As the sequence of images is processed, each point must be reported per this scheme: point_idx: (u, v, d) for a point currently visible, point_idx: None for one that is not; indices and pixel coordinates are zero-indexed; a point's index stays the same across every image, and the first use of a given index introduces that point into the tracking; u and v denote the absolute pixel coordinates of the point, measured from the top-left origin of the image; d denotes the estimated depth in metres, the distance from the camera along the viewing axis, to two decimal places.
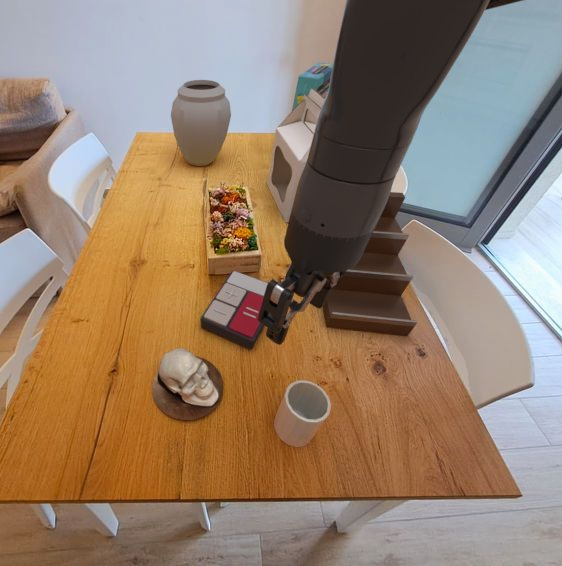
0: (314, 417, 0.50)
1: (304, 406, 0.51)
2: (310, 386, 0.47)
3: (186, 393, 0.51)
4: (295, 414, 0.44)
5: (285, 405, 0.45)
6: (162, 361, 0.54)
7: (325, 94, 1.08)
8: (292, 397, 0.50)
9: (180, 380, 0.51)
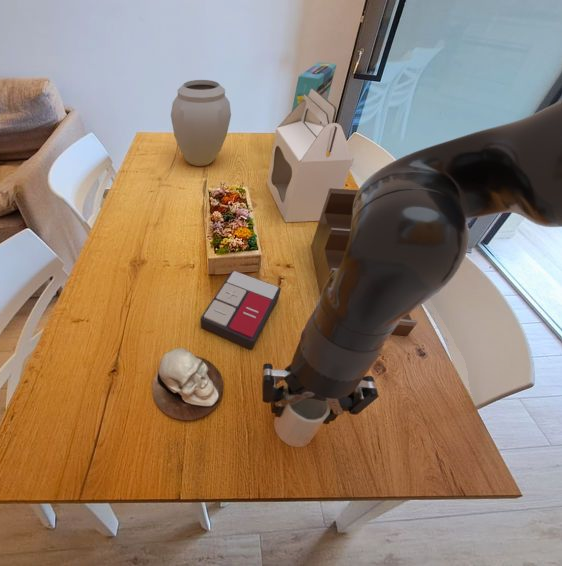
0: (314, 417, 0.50)
1: (304, 406, 0.51)
2: None
3: (186, 393, 0.51)
4: (295, 414, 0.44)
5: (285, 405, 0.45)
6: (162, 361, 0.54)
7: (325, 94, 1.08)
8: None
9: (180, 380, 0.51)
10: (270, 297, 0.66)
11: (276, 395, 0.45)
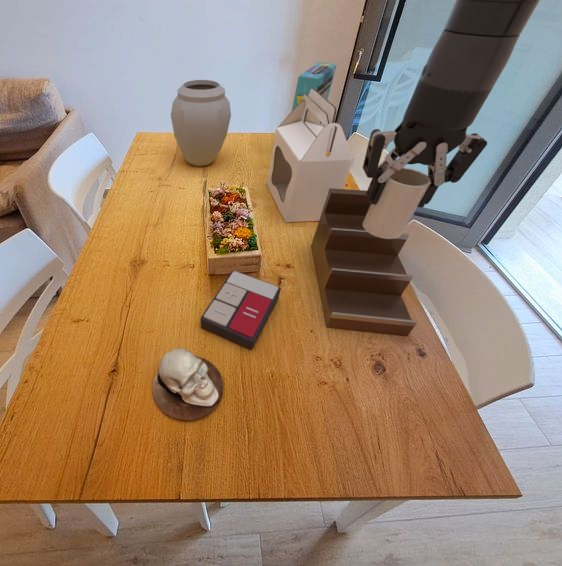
0: None
1: None
2: (405, 172, 0.50)
3: (186, 393, 0.51)
4: (399, 183, 0.46)
5: (386, 182, 0.48)
6: (162, 361, 0.54)
7: (325, 94, 1.08)
8: None
9: (180, 380, 0.51)
10: (270, 297, 0.66)
11: (379, 170, 0.47)
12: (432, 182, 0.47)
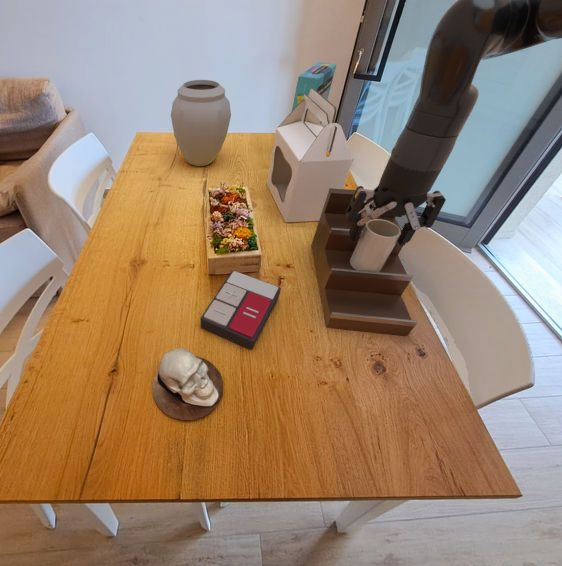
0: None
1: None
2: (382, 223, 0.63)
3: (186, 393, 0.51)
4: (375, 234, 0.60)
5: (366, 232, 0.62)
6: (162, 361, 0.54)
7: (325, 94, 1.08)
8: None
9: (180, 380, 0.51)
10: (270, 297, 0.66)
11: (358, 216, 0.60)
12: (411, 226, 0.60)
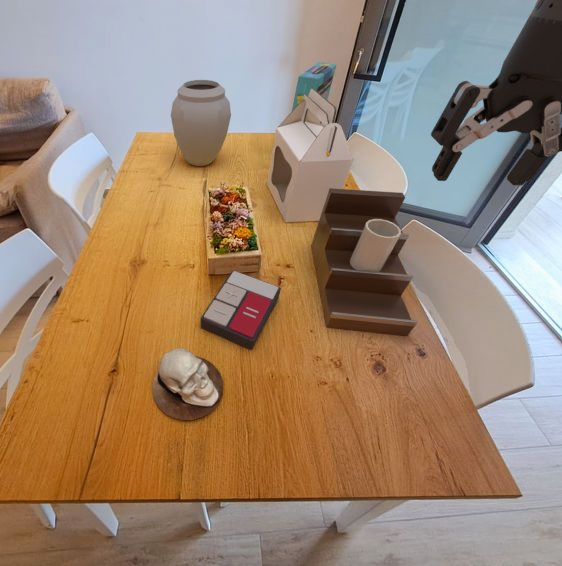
0: None
1: None
2: (382, 223, 0.63)
3: (186, 393, 0.51)
4: (375, 234, 0.60)
5: (366, 232, 0.62)
6: (162, 361, 0.54)
7: (325, 94, 1.08)
8: None
9: (180, 380, 0.51)
10: (270, 297, 0.66)
11: (454, 136, 0.38)
12: (540, 152, 0.37)
